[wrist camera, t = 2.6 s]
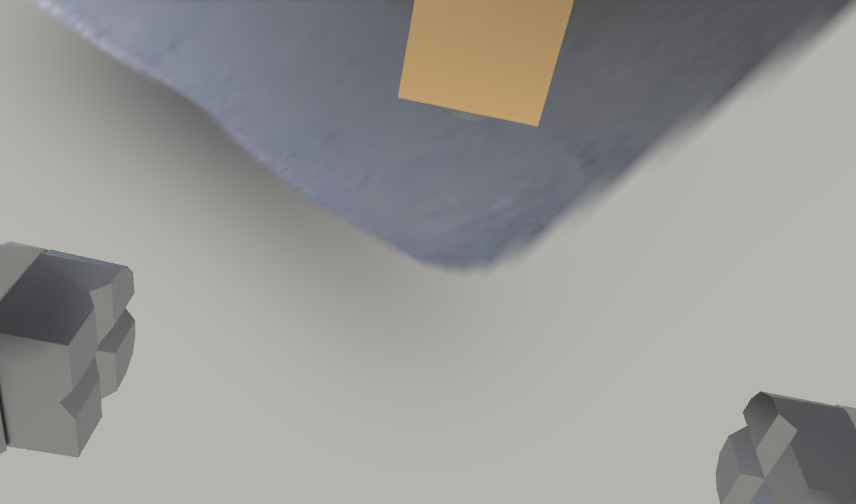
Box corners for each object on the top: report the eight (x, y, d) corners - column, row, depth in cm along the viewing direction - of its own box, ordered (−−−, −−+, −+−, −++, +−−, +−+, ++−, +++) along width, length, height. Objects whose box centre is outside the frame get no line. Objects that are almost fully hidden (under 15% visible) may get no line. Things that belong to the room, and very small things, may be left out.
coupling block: (569, -97, 25) (585, -40, 20) (528, 56, 28) (532, 145, 23) (446, -123, 25) (427, -74, 20) (418, 33, 28) (394, 117, 22)
